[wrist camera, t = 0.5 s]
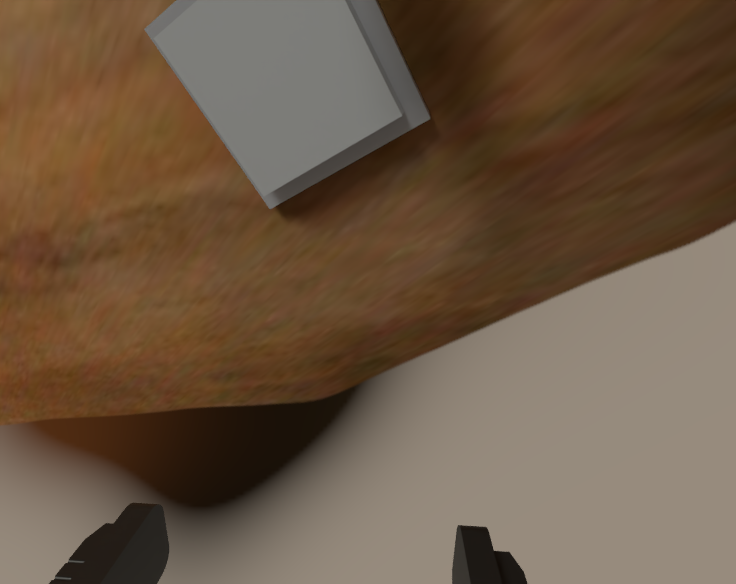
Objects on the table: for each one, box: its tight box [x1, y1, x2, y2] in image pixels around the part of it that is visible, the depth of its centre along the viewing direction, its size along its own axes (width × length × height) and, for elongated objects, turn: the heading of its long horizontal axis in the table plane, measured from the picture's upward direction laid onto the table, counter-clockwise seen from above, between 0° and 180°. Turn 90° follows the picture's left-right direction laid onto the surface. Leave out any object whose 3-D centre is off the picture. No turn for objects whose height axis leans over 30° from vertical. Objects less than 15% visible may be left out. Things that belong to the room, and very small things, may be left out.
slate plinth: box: [144, 0, 431, 209], centre depth 31 cm, size 16×16×4 cm
